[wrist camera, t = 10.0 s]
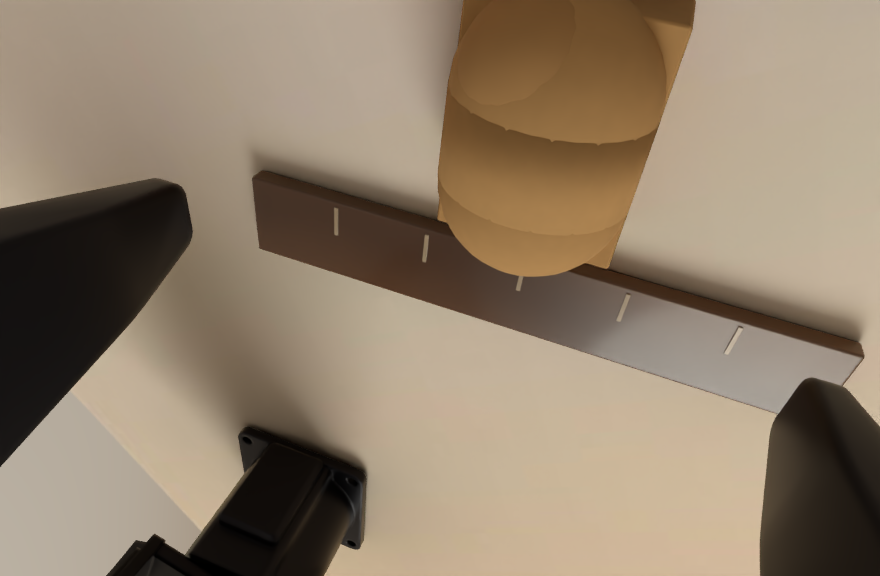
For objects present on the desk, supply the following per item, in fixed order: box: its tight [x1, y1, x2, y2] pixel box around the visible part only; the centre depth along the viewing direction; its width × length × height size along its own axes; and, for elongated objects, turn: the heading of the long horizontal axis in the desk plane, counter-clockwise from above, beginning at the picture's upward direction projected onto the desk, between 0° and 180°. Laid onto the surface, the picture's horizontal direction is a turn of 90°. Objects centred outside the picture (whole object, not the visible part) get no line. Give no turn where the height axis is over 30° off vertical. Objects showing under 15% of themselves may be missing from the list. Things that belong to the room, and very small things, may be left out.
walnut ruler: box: [252, 171, 864, 414], centre depth 18 cm, size 3×18×1 cm, turn 84°
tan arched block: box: [437, 0, 696, 277], centre depth 13 cm, size 6×4×5 cm
